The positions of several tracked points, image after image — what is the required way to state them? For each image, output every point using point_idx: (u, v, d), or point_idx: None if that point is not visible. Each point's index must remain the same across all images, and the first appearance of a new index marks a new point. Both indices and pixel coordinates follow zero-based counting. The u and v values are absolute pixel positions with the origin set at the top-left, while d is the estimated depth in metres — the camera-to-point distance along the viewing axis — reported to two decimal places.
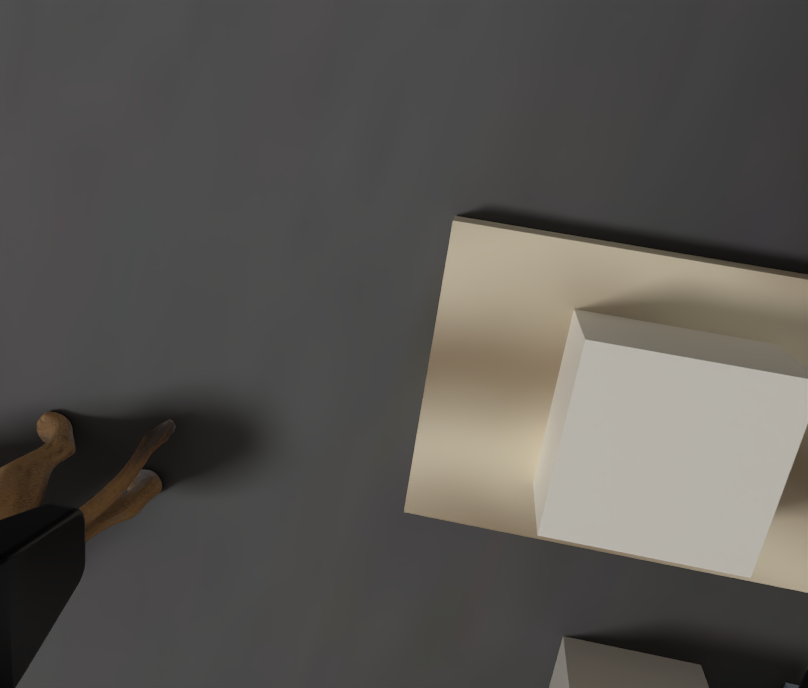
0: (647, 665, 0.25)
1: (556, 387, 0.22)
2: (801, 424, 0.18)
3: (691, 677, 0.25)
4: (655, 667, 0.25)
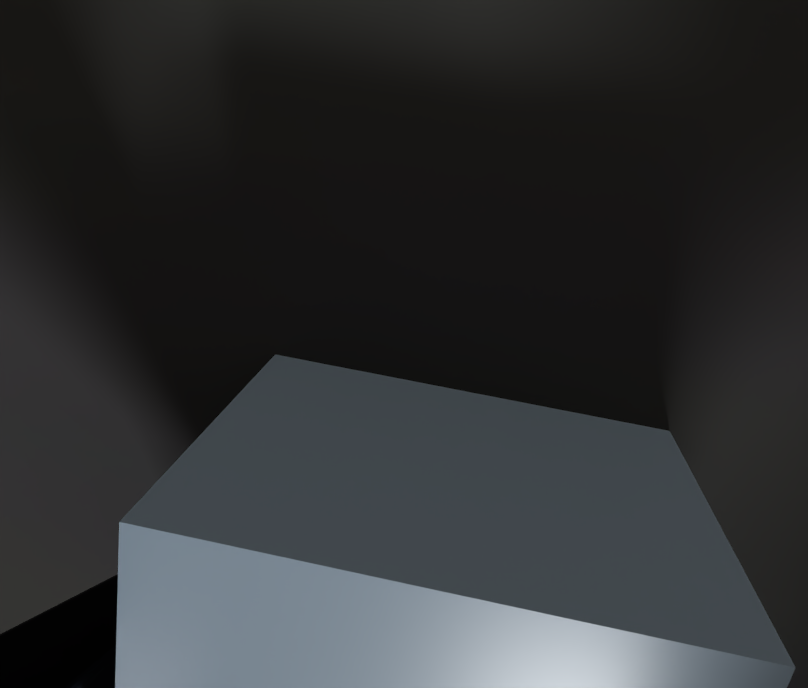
0: None
1: None
2: None
3: None
4: None
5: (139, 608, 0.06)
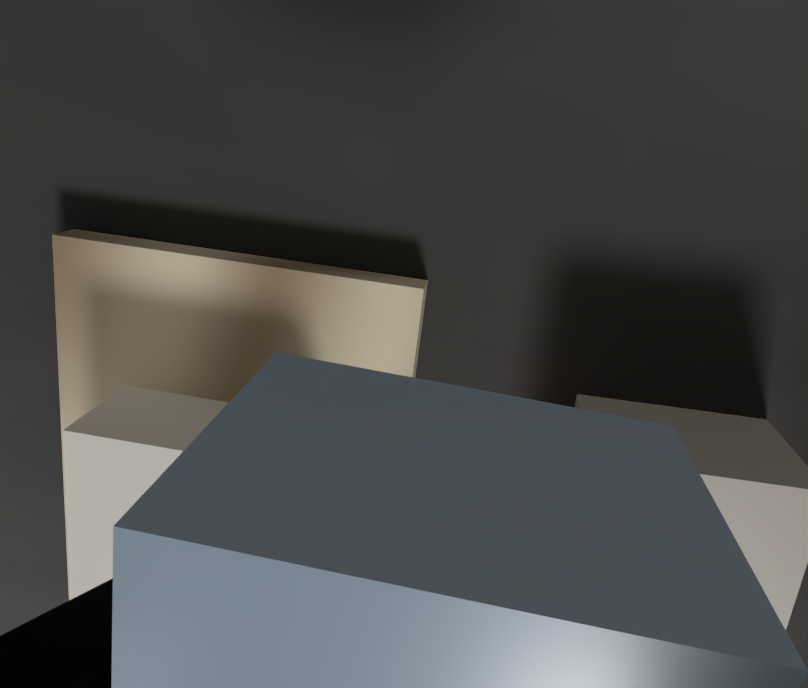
0: None
1: None
2: (110, 444, 0.17)
3: None
4: None
5: (135, 614, 0.05)
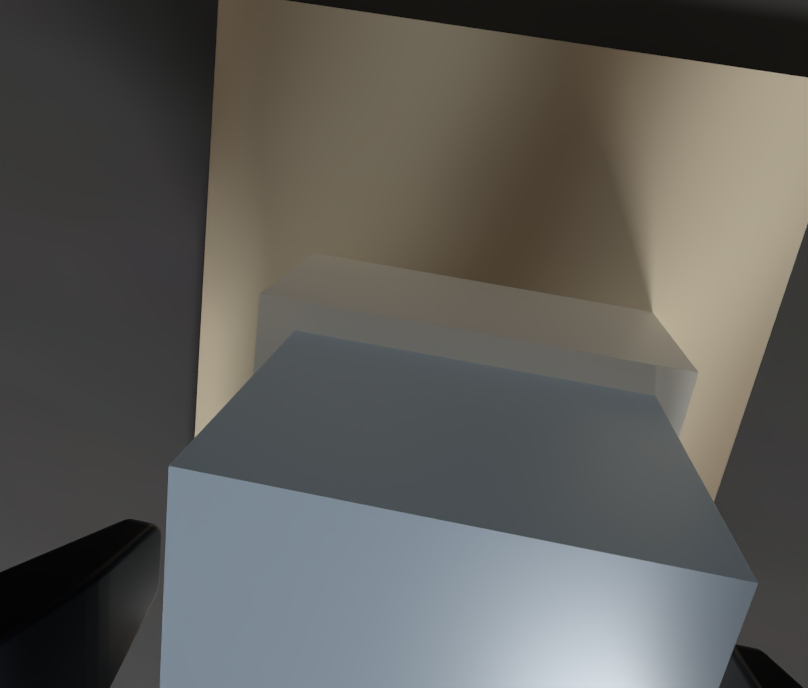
0: None
1: None
2: (344, 320, 0.10)
3: None
4: None
5: (185, 543, 0.06)
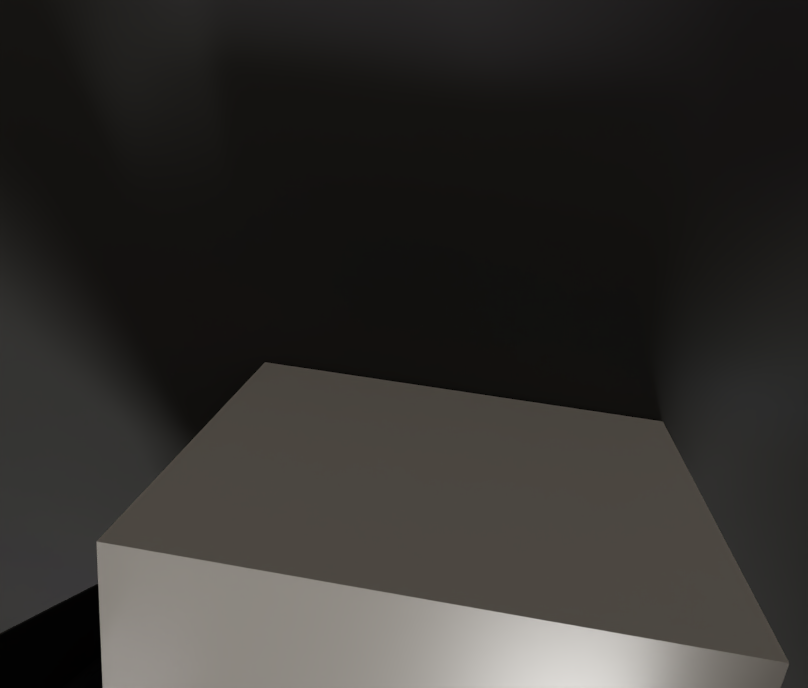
0: None
1: None
2: None
3: None
4: None
5: None
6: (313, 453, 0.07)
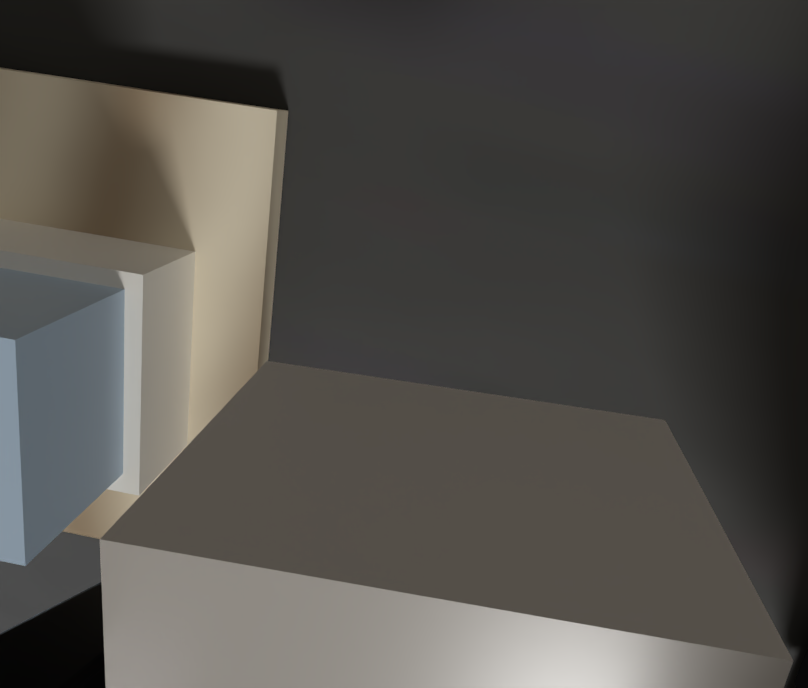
0: None
1: None
2: None
3: None
4: None
5: None
6: (315, 452, 0.07)
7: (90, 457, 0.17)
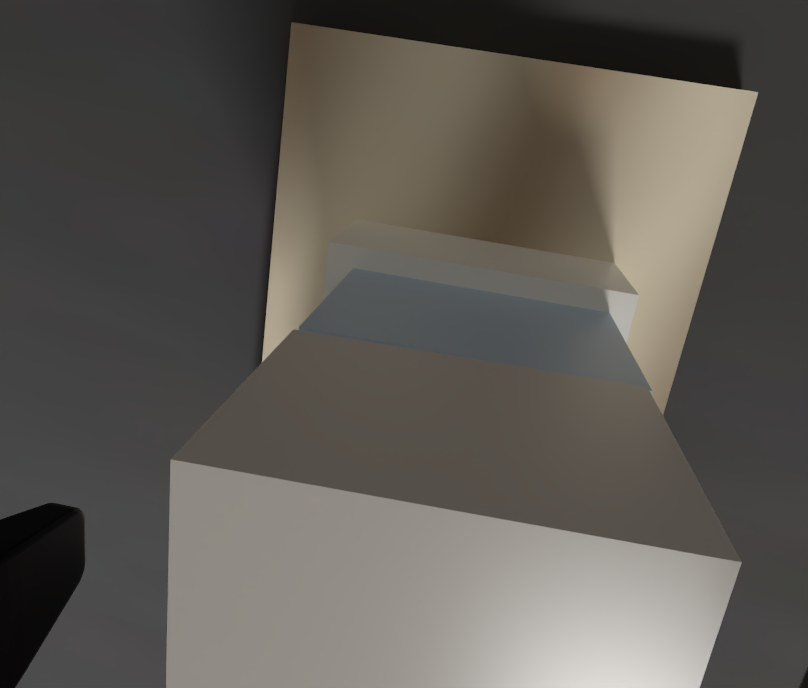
0: None
1: None
2: (389, 260, 0.14)
3: None
4: None
5: None
6: (342, 401, 0.08)
7: None
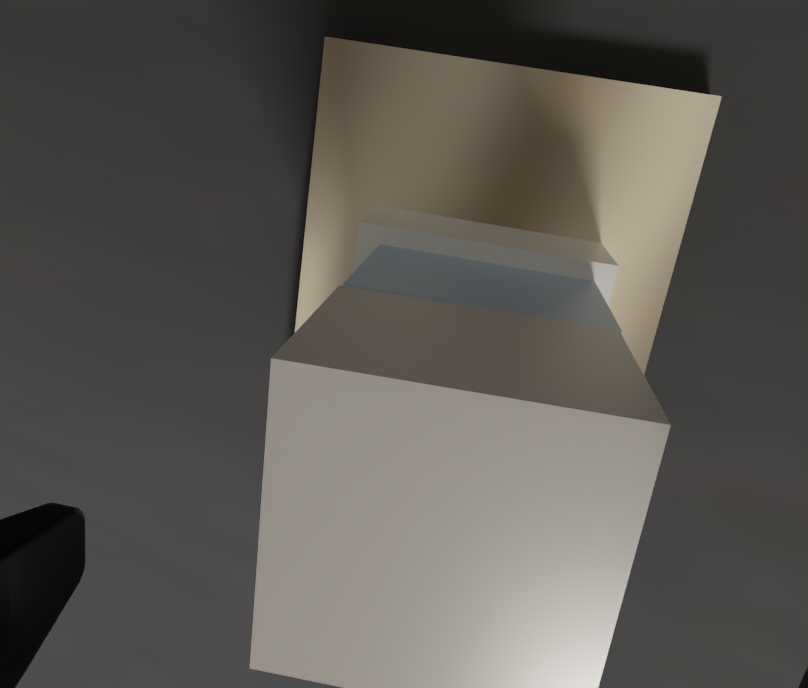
0: None
1: None
2: (410, 237, 0.16)
3: None
4: None
5: None
6: (385, 330, 0.11)
7: None
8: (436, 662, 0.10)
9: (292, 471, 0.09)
